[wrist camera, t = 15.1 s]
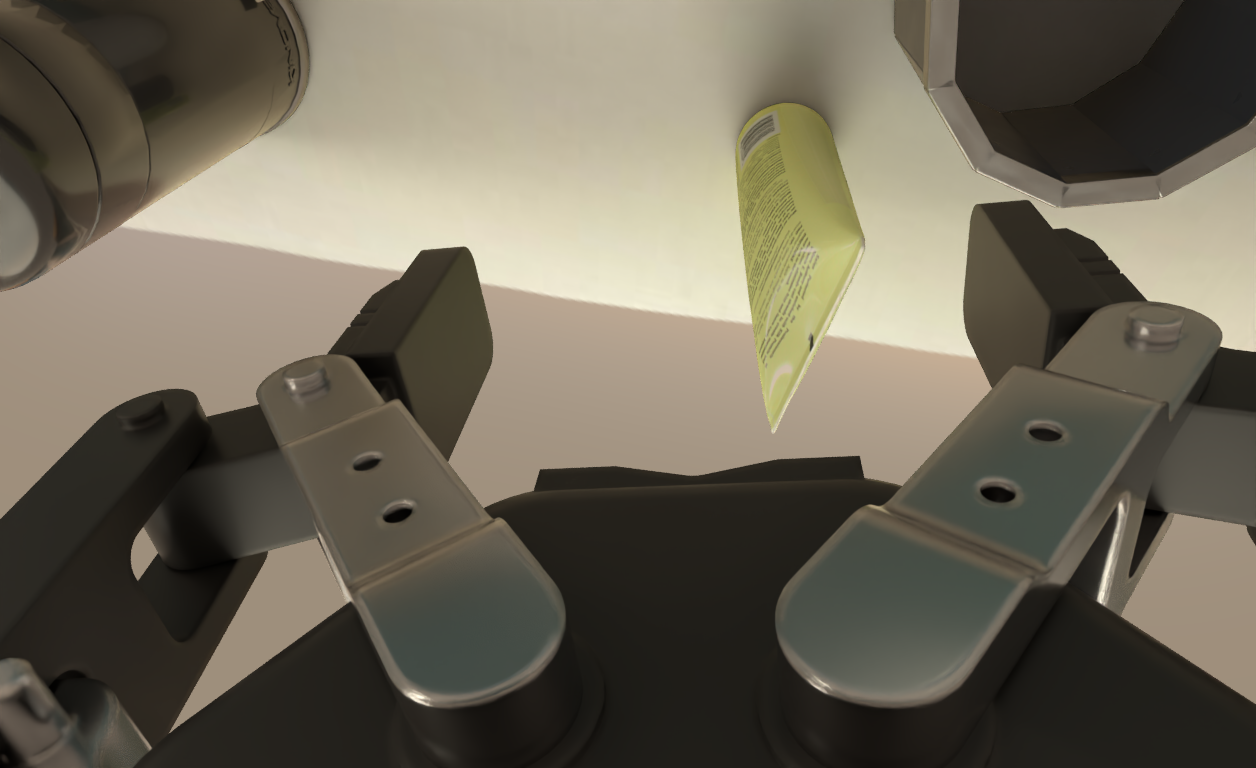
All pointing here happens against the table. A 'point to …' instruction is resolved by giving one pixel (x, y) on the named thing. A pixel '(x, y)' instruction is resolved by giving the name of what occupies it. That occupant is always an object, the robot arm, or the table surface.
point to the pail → (1105, 109)
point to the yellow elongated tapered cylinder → (793, 241)
